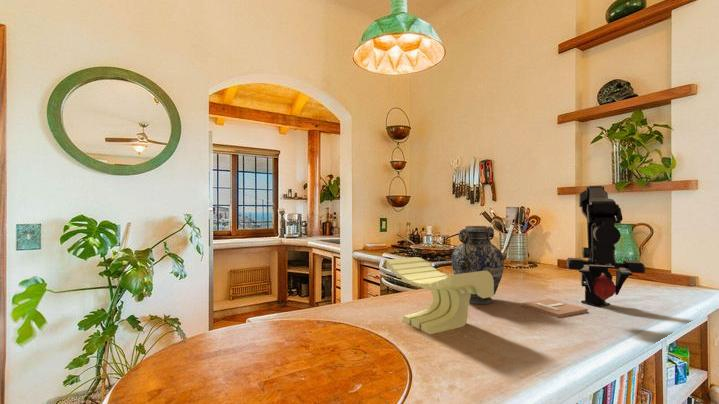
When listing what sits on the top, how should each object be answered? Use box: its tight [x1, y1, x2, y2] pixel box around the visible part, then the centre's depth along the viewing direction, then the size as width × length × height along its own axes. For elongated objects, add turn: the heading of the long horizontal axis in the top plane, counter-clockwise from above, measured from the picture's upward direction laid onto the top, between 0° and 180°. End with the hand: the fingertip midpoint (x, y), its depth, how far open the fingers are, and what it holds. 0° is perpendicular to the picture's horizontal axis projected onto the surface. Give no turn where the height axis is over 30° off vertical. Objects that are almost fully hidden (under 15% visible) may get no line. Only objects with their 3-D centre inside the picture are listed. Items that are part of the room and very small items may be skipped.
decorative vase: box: [451, 225, 505, 305], centre depth 128 cm, size 21×19×28 cm
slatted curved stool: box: [386, 256, 495, 335], centre depth 104 cm, size 30×16×18 cm, turn 29°
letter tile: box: [521, 298, 588, 318], centre depth 117 cm, size 14×14×1 cm
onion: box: [592, 273, 616, 301], centre depth 103 cm, size 6×6×8 cm
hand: (603, 293), depth 103 cm, fingers closed on onion, 6 cm apart
